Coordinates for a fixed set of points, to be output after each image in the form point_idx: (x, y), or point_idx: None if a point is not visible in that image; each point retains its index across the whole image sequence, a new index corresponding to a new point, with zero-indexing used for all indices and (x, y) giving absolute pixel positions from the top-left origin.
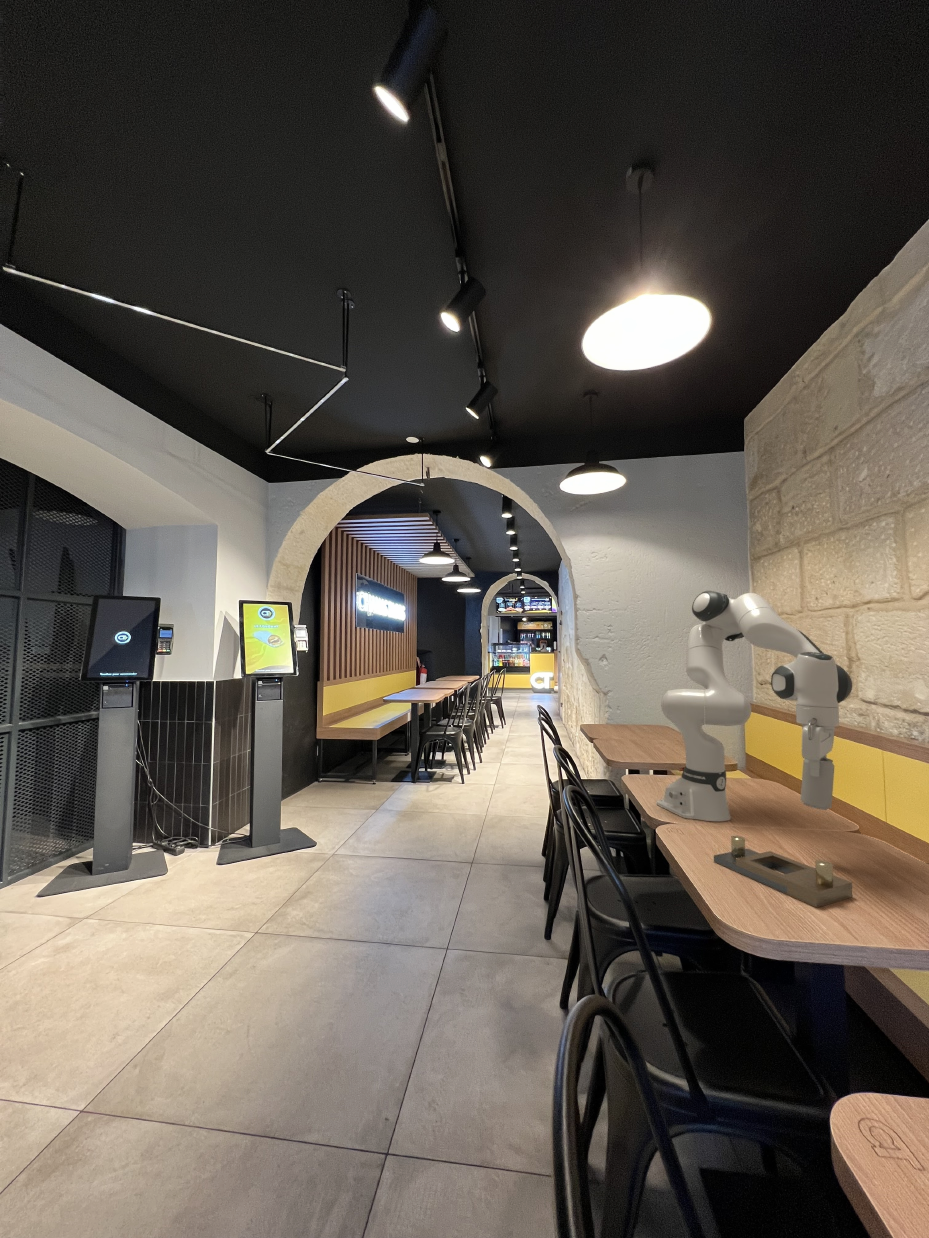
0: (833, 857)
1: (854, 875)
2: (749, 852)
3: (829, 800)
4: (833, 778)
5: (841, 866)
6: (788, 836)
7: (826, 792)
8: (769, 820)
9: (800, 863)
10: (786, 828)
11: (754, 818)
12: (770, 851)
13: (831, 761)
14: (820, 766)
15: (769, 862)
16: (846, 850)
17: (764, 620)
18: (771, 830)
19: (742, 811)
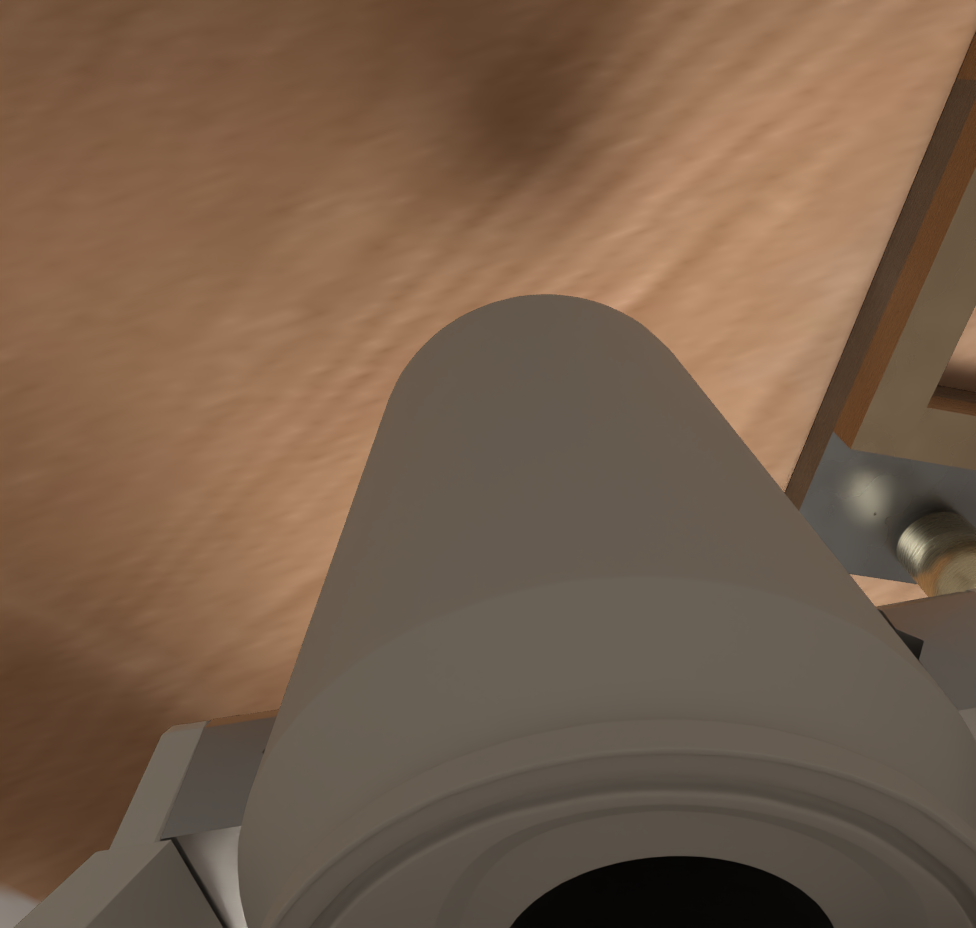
0: (332, 236)
1: (580, 3)
2: (841, 528)
3: (597, 320)
4: (532, 432)
5: (470, 132)
6: (203, 553)
7: (680, 379)
8: (18, 724)
9: (959, 238)
10: (58, 619)
11: (80, 775)
12: (854, 444)
13: (733, 747)
14: None
15: (933, 396)
16: (83, 236)
17: None
18: (197, 645)
19: (28, 852)
